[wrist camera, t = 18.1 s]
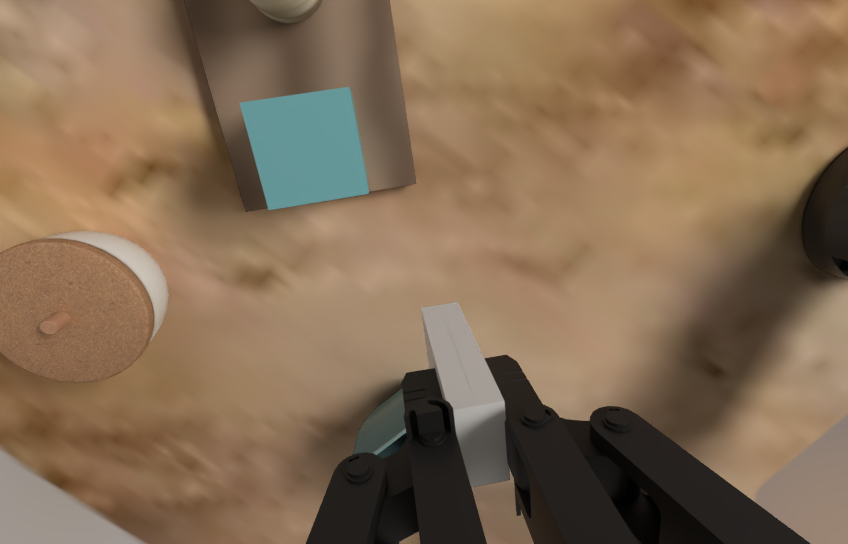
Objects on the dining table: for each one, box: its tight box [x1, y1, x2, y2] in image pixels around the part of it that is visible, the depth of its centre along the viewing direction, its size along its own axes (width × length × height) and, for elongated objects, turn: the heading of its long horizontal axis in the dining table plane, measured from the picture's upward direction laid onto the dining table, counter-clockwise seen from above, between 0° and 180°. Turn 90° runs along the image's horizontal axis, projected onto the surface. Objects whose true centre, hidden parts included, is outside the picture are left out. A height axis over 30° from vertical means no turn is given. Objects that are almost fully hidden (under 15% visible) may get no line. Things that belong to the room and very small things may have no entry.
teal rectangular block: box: [240, 87, 369, 210], centre depth 30 cm, size 6×6×9 cm
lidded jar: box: [0, 231, 169, 382], centre depth 33 cm, size 11×11×9 cm
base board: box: [184, 0, 416, 212], centre depth 33 cm, size 14×20×2 cm
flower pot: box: [353, 388, 407, 459], centre depth 42 cm, size 9×9×9 cm
